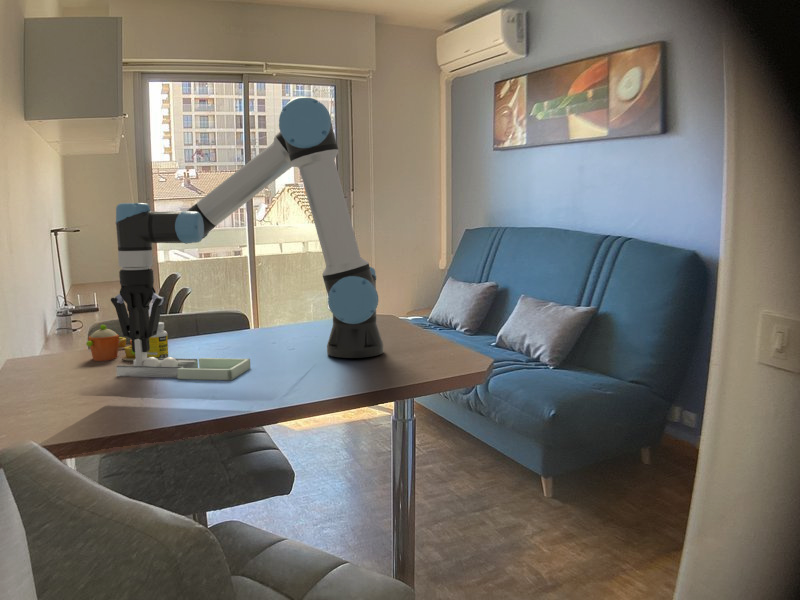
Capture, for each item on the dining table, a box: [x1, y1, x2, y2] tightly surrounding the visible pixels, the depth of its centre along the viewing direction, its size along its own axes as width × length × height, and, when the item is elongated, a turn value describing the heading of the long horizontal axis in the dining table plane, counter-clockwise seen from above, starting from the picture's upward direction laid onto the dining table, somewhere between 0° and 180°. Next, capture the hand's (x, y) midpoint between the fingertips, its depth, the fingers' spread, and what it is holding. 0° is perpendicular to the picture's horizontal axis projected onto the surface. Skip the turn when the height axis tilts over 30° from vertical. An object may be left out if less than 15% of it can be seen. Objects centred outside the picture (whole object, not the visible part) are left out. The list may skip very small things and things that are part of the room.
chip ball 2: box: [161, 356, 178, 367], centre depth 153 cm, size 4×4×4 cm
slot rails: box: [116, 358, 199, 379], centre depth 153 cm, size 16×9×2 cm, turn 82°
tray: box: [177, 357, 251, 381], centre depth 151 cm, size 13×12×2 cm
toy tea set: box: [85, 324, 136, 362], centre depth 177 cm, size 26×16×10 cm, turn 12°
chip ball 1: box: [143, 357, 160, 366], centre depth 153 cm, size 4×4×4 cm
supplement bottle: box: [147, 321, 169, 358], centre depth 167 cm, size 5×5×10 cm
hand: (141, 365), depth 154 cm, fingers closed
